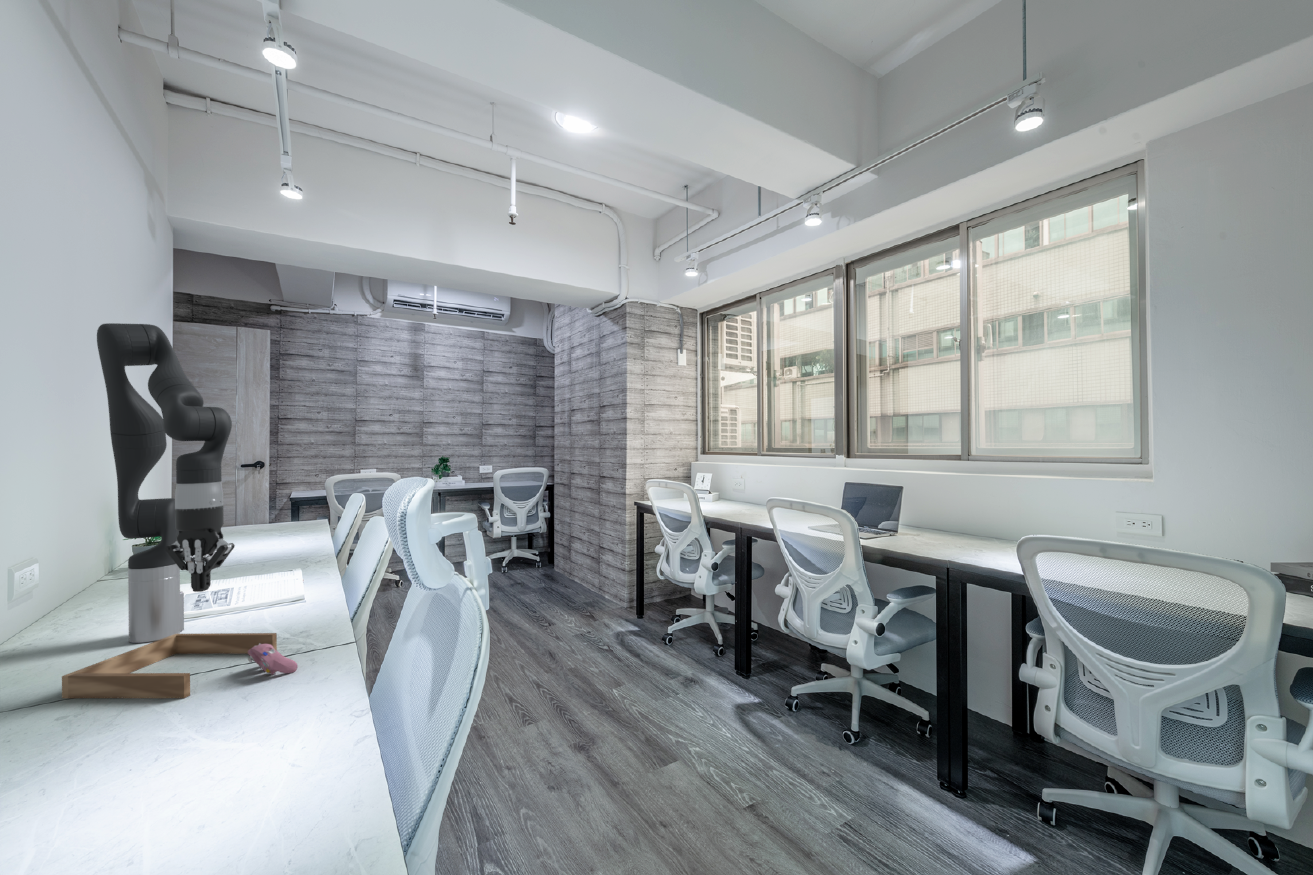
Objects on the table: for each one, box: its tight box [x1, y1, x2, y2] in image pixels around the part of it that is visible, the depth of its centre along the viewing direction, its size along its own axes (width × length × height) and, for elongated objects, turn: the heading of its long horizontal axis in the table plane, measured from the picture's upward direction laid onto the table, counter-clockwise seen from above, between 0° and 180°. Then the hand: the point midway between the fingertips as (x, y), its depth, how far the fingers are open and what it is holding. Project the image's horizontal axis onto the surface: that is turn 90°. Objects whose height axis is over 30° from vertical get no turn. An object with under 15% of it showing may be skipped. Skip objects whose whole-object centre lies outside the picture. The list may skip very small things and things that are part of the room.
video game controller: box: [247, 643, 299, 676], centre depth 109 cm, size 10×5×7 cm, turn 56°
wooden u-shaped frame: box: [61, 632, 278, 699], centre depth 110 cm, size 22×23×4 cm
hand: (200, 590), depth 110 cm, fingers closed
